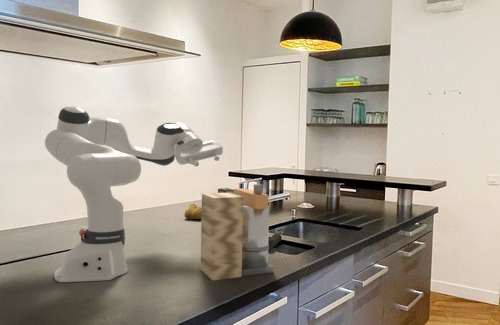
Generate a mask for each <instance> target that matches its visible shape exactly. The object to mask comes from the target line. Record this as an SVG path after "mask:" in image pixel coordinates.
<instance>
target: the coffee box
mask: <svg viewBox="0 0 500 325" xmlns="http://www.w3.org/2000/svg"><path fill="white" fill-rule="evenodd" d="M217 193H233V194H234V189H232V188H228V187H227V188H226V187H225V188H223V187H222V188H218V189H217Z"/></svg>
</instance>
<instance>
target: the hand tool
mask: <svg viewBox="0 0 500 325" xmlns="http://www.w3.org/2000/svg"><path fill="white" fill-rule="evenodd" d="M281 242H282V235H281V234H279V233H274V234H272V236H271V237H269V238H268V244H269V249H268V252H271V251H273V249H274V247H276V246H277V244H279V243H281Z"/></svg>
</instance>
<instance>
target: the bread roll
mask: <svg viewBox="0 0 500 325" xmlns="http://www.w3.org/2000/svg"><path fill="white" fill-rule="evenodd" d="M184 217H185V219H187V218H190V219H189V220H192V219H202V206H197V205H196V204H195V203H191V204H190V205H189V207H188V208H187V209H186V210H185V211H184Z"/></svg>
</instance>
